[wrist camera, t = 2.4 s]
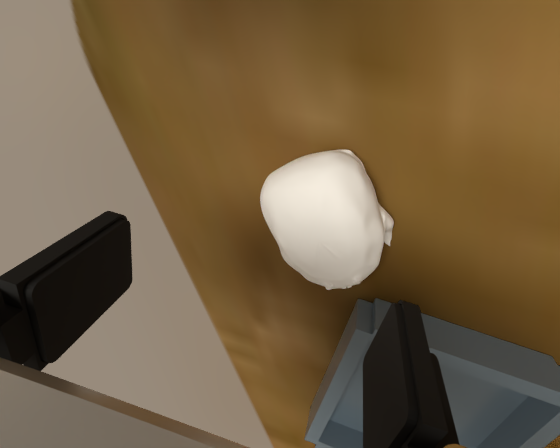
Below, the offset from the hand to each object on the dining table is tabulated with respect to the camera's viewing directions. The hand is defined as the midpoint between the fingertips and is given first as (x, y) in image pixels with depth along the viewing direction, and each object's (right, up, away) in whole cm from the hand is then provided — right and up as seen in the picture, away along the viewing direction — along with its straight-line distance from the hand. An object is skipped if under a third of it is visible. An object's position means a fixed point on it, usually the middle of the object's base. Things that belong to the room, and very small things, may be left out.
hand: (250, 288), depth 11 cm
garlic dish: (+11, -10, +13) cm, 20 cm away
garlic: (+4, +3, +9) cm, 10 cm away
